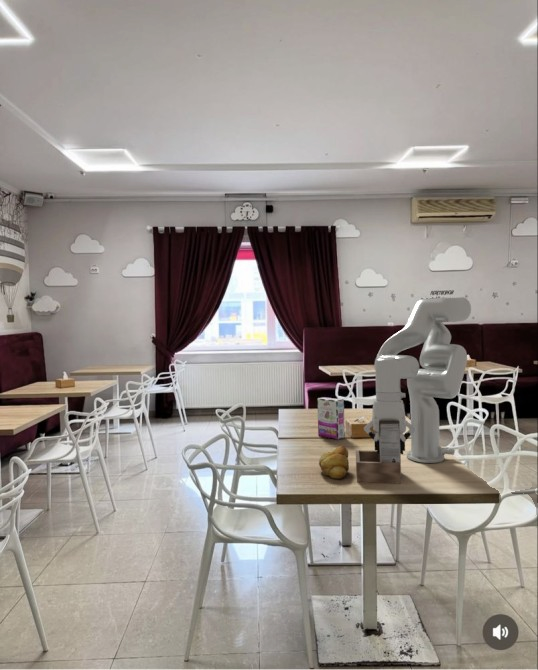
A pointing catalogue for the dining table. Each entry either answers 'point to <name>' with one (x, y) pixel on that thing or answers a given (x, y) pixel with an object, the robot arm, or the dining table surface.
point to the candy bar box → (331, 418)
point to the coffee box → (389, 441)
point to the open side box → (375, 468)
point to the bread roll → (335, 463)
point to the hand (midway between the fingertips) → (389, 452)
